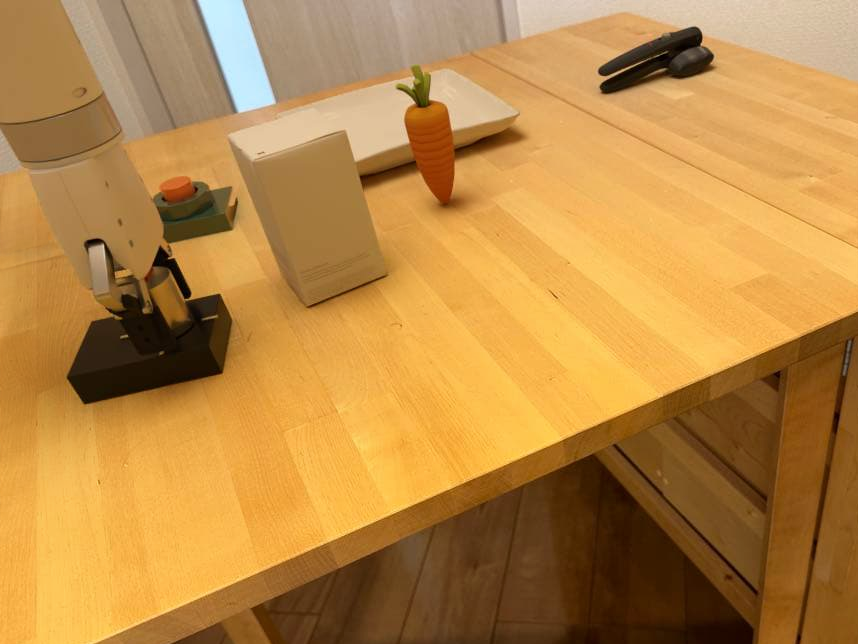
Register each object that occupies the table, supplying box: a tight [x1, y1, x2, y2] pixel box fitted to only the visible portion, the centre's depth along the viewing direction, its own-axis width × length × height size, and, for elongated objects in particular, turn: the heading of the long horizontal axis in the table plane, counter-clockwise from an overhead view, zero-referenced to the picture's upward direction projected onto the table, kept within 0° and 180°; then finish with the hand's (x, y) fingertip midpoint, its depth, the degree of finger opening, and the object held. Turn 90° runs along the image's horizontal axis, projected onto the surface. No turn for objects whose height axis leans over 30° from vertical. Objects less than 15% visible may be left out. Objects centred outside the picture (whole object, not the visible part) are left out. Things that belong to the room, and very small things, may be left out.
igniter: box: [152, 181, 239, 244], centre depth 91 cm, size 10×8×4 cm
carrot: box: [396, 64, 456, 205], centre depth 83 cm, size 5×5×15 cm
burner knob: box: [118, 266, 194, 338], centre depth 67 cm, size 4×4×5 cm
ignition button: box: [158, 175, 196, 202], centre depth 89 cm, size 4×4×2 cm
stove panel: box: [66, 293, 233, 405], centre depth 69 cm, size 12×9×3 cm
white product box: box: [227, 108, 388, 307], centre depth 74 cm, size 9×9×15 cm
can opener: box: [597, 25, 715, 93], centre depth 109 cm, size 18×7×6 cm, turn 114°
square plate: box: [275, 68, 521, 177], centre depth 104 cm, size 27×27×4 cm
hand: (167, 323), depth 68 cm, fingers open, 7 cm apart
